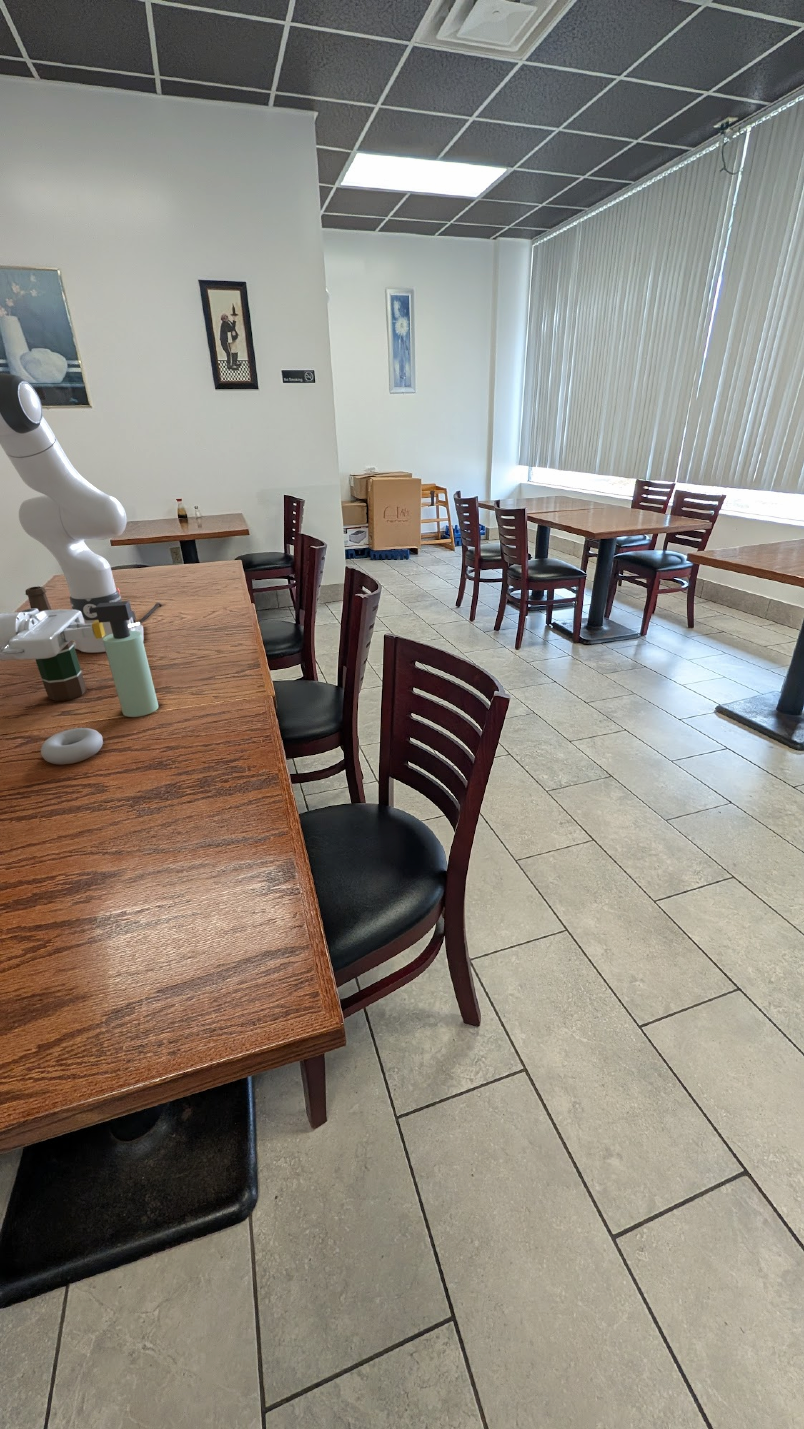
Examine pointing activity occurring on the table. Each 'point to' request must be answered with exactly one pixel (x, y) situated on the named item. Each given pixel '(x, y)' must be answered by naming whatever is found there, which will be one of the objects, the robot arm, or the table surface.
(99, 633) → the block
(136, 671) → the spray bottle
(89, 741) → the donut
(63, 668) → the beer bottle
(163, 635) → the table surface
